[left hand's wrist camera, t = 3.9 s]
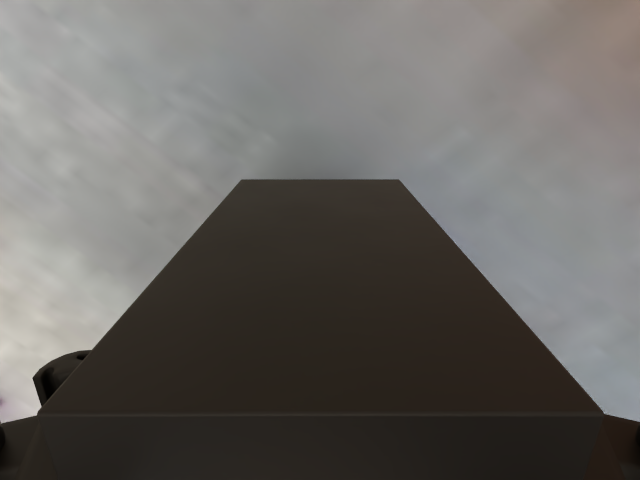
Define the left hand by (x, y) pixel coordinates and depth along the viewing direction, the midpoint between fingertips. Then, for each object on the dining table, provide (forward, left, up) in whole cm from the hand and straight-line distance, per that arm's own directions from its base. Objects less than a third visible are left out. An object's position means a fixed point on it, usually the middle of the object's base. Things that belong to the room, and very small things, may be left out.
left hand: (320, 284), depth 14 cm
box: (-2, +7, -3) cm, 7 cm away
